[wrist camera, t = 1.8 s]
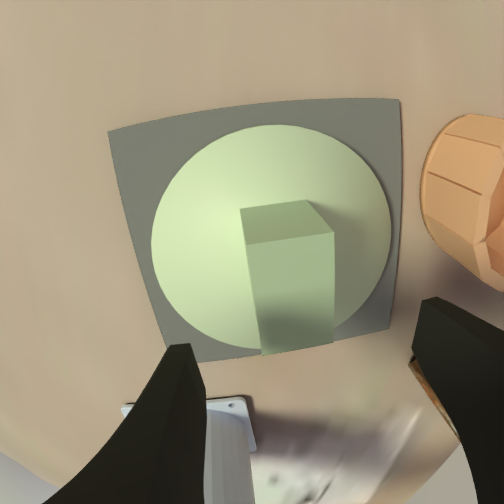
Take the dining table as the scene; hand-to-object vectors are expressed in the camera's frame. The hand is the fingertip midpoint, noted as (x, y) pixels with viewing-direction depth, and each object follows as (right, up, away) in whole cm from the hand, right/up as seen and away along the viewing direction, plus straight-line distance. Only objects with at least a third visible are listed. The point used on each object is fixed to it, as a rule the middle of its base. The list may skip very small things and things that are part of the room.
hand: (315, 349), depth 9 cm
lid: (-1, +3, +7) cm, 8 cm away
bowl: (+12, +7, +7) cm, 15 cm away
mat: (-1, +3, +7) cm, 8 cm away
